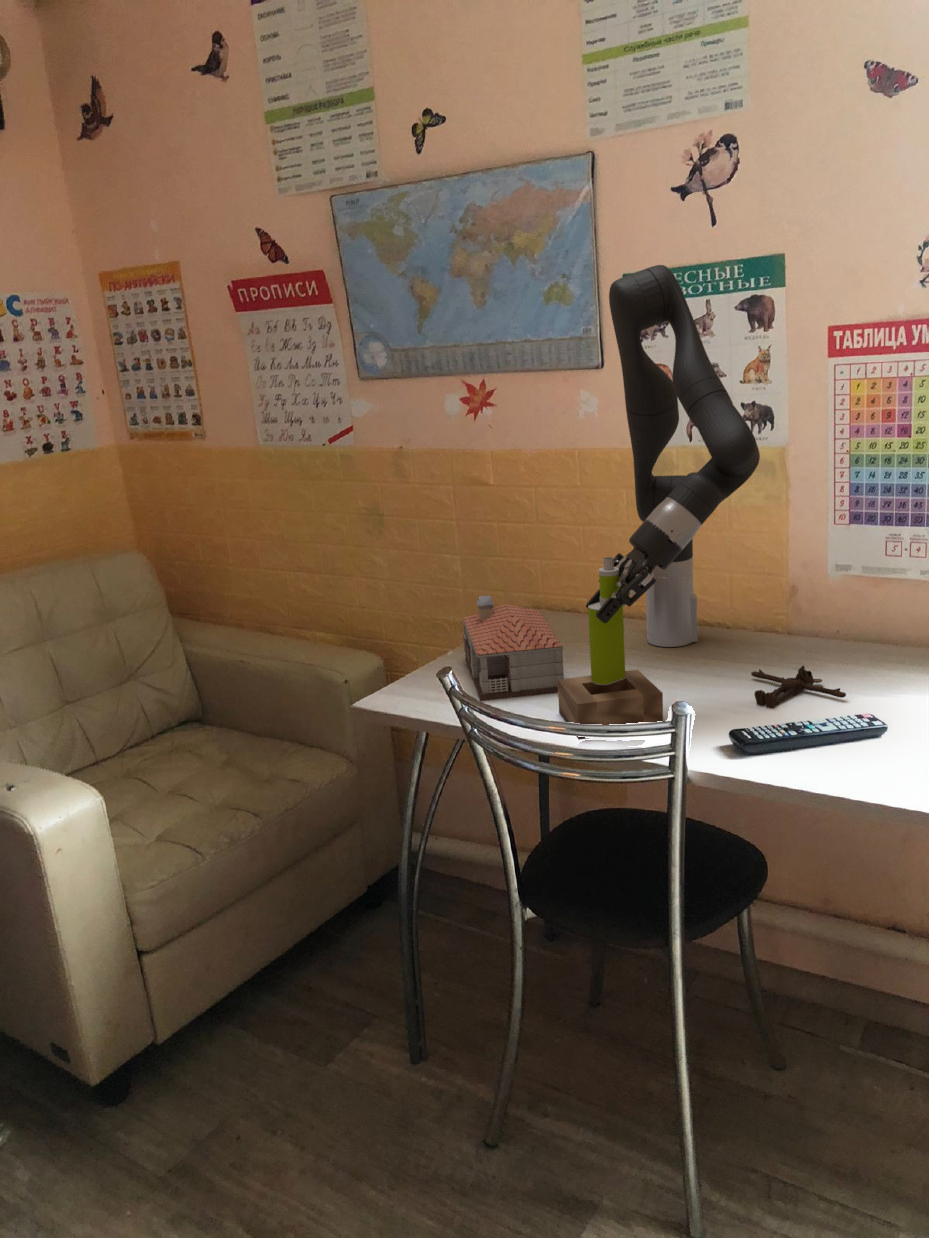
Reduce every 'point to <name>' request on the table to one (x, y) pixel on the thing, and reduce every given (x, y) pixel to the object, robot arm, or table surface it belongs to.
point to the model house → (511, 652)
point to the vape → (606, 632)
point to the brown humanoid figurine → (790, 687)
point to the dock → (610, 700)
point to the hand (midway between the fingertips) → (595, 614)
